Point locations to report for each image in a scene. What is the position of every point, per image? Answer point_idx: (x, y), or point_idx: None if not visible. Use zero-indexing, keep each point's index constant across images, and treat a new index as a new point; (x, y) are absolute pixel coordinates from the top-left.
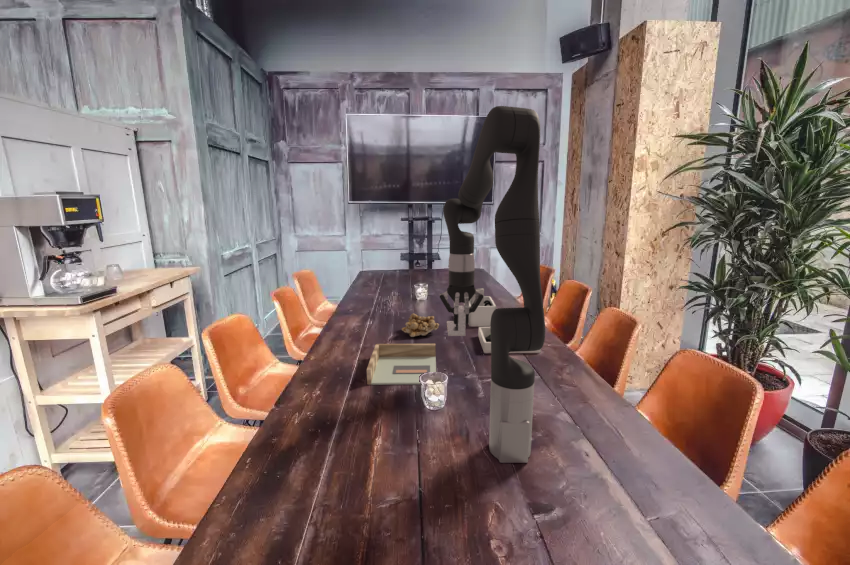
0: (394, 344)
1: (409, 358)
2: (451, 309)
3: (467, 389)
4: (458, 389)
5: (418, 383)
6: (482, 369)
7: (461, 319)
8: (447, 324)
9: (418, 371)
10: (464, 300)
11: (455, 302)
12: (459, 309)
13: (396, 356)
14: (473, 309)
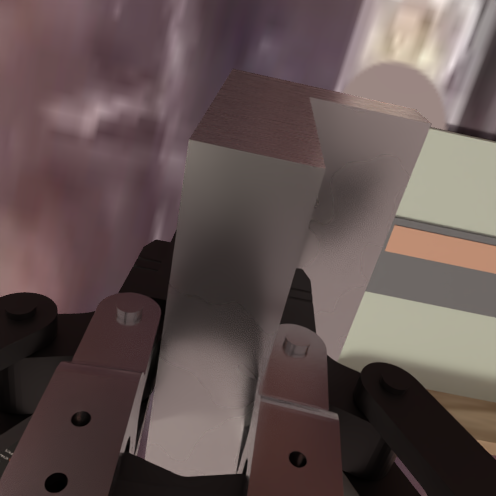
0: (493, 447)
1: (418, 370)
2: (371, 391)
3: (246, 26)
4: (291, 37)
5: (468, 135)
6: (123, 217)
7: (272, 126)
8: (348, 325)
9: (429, 243)
10: (111, 486)
11: (328, 477)
12: (224, 402)
13: (467, 397)
14: (8, 318)
